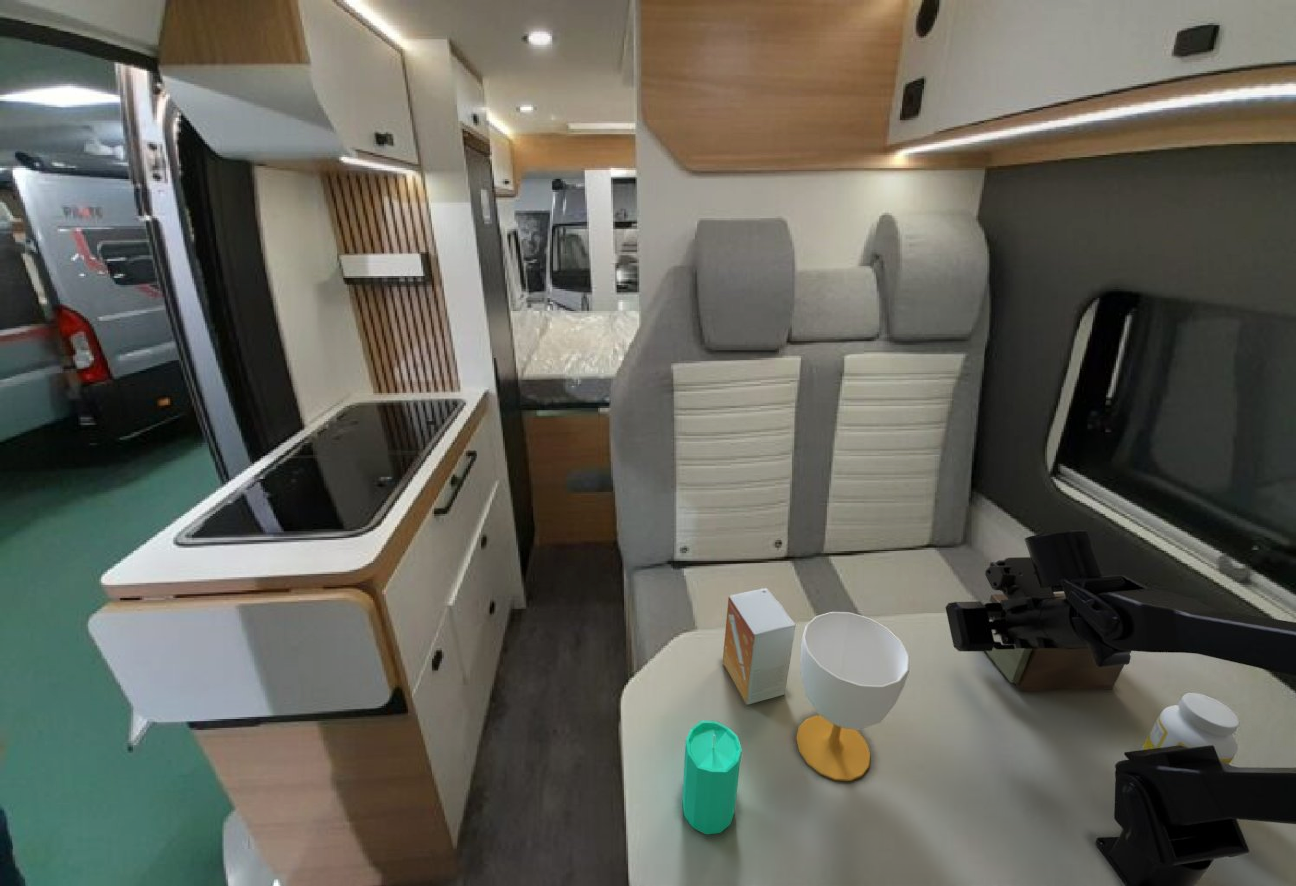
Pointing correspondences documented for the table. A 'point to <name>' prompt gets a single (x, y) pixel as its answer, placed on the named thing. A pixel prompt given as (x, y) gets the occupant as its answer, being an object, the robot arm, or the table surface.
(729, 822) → the candle
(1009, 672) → the drawer
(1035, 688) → the cabinet
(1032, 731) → the table surface
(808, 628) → the cup
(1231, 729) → the pill bottle
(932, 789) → the table surface
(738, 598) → the small box
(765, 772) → the table surface
